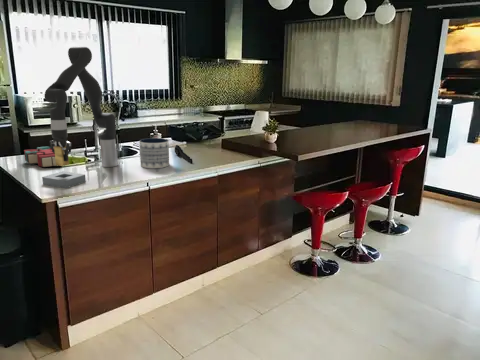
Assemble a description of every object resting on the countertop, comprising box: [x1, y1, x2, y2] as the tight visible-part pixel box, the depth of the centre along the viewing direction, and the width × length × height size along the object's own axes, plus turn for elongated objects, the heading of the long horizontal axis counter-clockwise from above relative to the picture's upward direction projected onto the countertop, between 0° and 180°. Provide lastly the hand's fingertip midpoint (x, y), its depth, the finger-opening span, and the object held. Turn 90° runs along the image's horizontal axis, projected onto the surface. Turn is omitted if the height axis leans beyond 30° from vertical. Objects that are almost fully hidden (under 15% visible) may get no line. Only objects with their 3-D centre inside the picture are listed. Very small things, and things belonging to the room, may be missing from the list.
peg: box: [53, 146, 70, 167], centre depth 206 cm, size 4×4×10 cm
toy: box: [23, 146, 58, 168], centre depth 252 cm, size 24×9×30 cm
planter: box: [138, 137, 170, 169], centre depth 251 cm, size 18×18×16 cm
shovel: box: [174, 144, 194, 164], centre depth 274 cm, size 35×4×8 cm, turn 27°
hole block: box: [41, 170, 87, 189], centre depth 210 cm, size 14×16×4 cm
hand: (62, 160), depth 207 cm, fingers closed on peg, 4 cm apart
